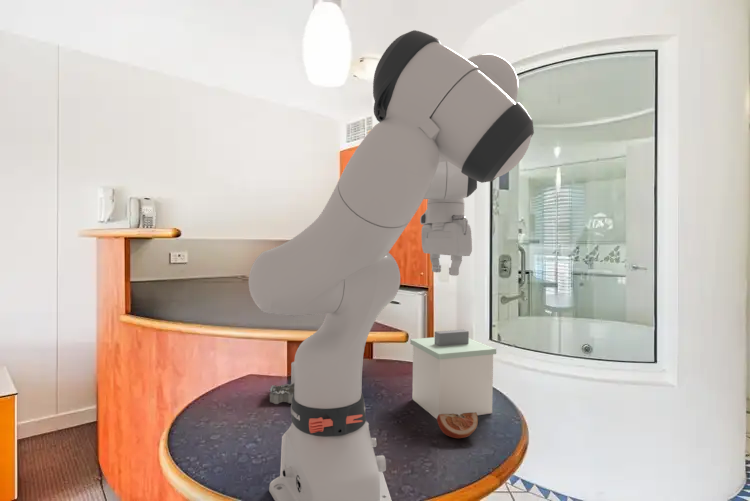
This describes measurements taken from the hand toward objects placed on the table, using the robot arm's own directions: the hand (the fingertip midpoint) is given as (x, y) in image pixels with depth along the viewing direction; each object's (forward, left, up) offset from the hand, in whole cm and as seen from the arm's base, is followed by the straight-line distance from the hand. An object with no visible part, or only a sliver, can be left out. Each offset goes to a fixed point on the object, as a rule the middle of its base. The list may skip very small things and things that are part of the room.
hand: (444, 273), depth 102 cm
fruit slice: (-15, +5, -33) cm, 36 cm away
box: (0, -2, -32) cm, 32 cm away
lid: (0, -2, -18) cm, 18 cm away
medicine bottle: (+24, +28, -33) cm, 49 cm away
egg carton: (+17, +34, -33) cm, 50 cm away
